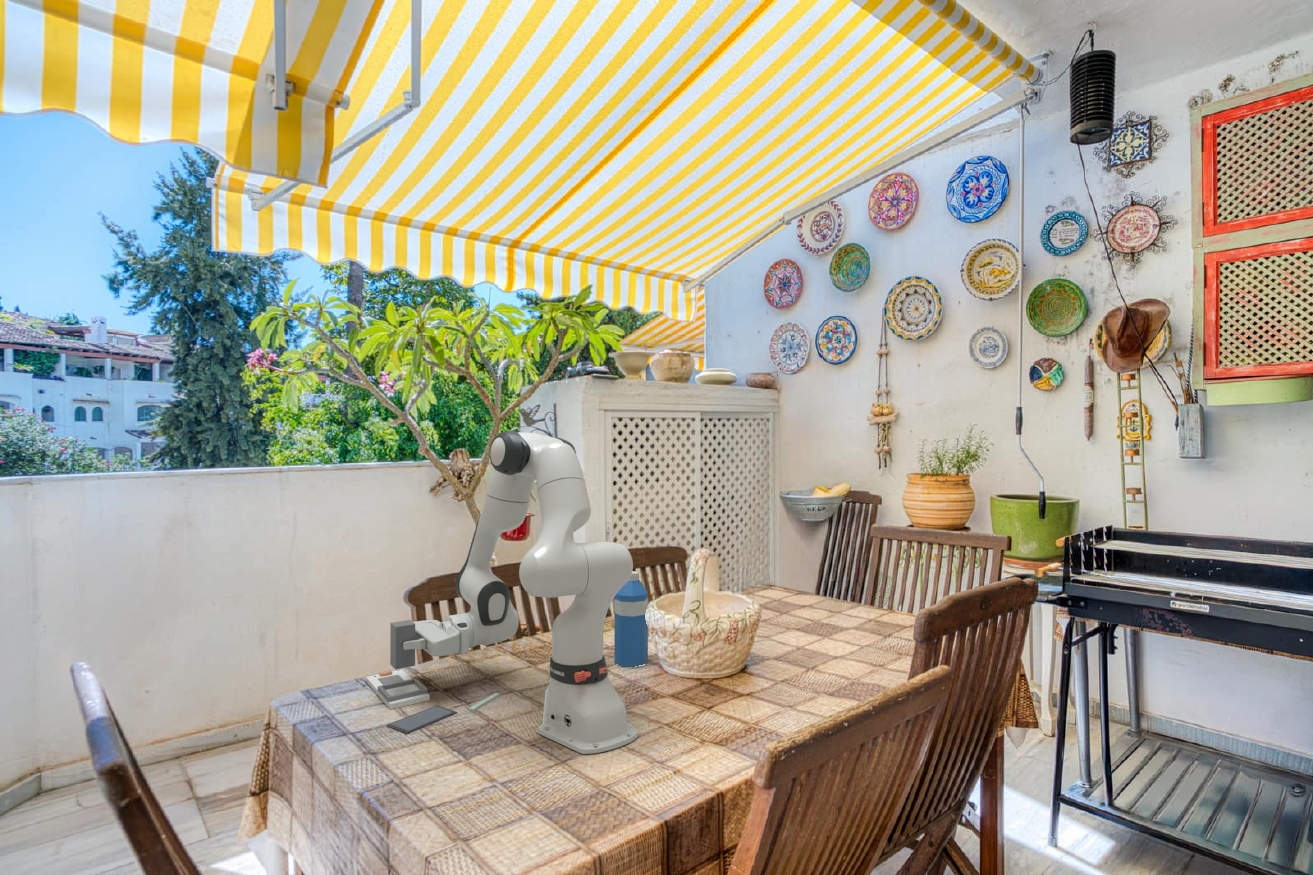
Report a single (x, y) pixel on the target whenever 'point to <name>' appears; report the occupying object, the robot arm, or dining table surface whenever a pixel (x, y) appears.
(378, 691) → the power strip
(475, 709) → the pale green stick
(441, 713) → the phone
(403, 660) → the grey rectangular block
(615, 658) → the water bottle
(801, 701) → the dining table surface
